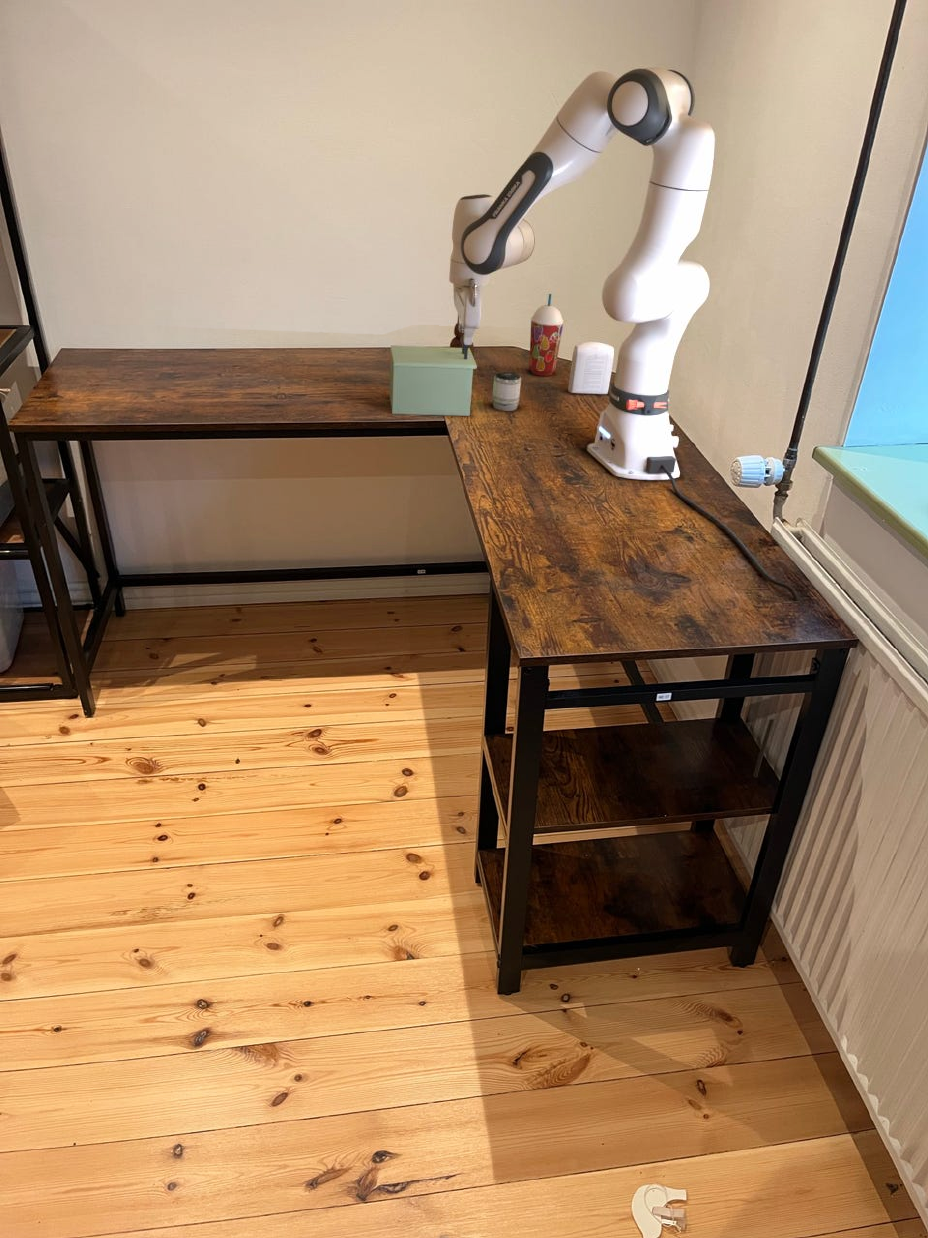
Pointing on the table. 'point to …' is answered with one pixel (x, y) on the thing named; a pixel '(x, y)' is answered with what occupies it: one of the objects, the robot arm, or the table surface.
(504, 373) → the camera lens
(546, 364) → the smoothie
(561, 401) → the table surface
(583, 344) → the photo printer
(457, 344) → the wooden figurine
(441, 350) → the lid
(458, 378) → the storage box
